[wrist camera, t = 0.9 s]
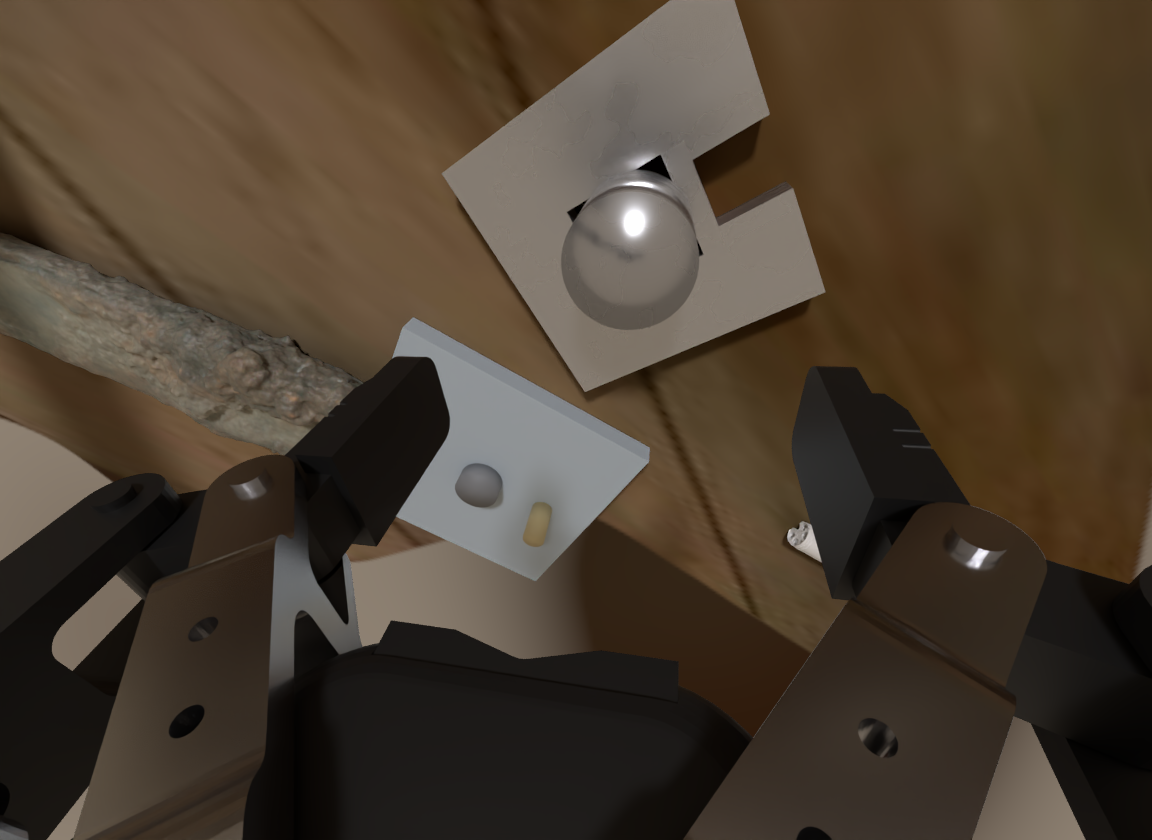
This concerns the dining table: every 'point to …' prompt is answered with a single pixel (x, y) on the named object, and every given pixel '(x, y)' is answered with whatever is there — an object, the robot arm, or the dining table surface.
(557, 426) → the base plate
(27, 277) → the long grey stone
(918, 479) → the robot arm
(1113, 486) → the dining table surface
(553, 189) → the flange plate
